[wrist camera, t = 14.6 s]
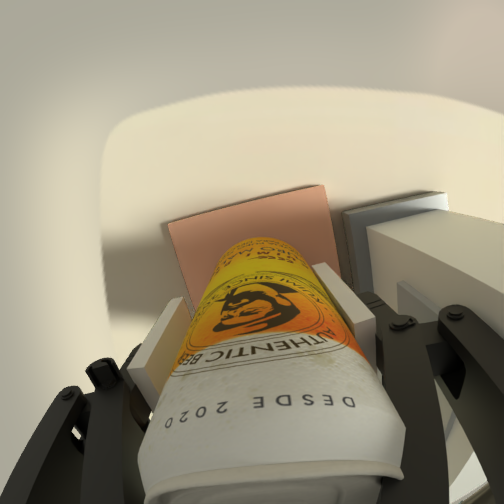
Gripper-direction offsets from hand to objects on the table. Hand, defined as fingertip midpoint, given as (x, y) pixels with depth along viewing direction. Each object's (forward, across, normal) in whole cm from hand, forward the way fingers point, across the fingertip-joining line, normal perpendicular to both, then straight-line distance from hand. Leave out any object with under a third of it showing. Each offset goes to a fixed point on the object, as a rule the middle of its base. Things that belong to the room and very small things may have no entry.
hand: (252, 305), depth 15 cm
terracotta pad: (+4, -1, 0) cm, 4 cm away
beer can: (+3, -1, 0) cm, 3 cm away
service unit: (+4, -11, +6) cm, 13 cm away
